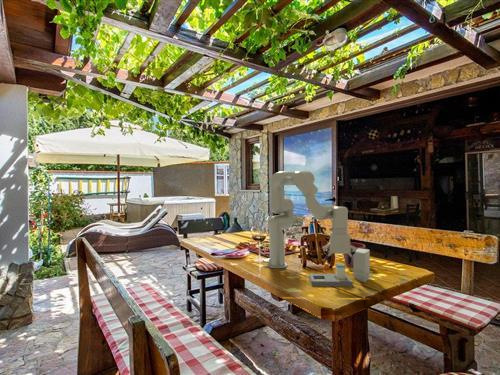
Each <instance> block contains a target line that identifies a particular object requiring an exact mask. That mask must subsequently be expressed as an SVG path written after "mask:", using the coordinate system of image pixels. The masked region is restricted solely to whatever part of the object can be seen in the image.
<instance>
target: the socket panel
mask: <svg viewBox="0 0 500 375" xmlns="http://www.w3.org/2000/svg"><path fill="white" fill-rule="evenodd" d="M308 279H309V282H310V285H311V287H312V286H313V287H353V286H354V283H353V282H354V281H353V280H352V279H351V277H350V276H349V275H348V273H345V280H342V279H336V273H308Z"/></svg>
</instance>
